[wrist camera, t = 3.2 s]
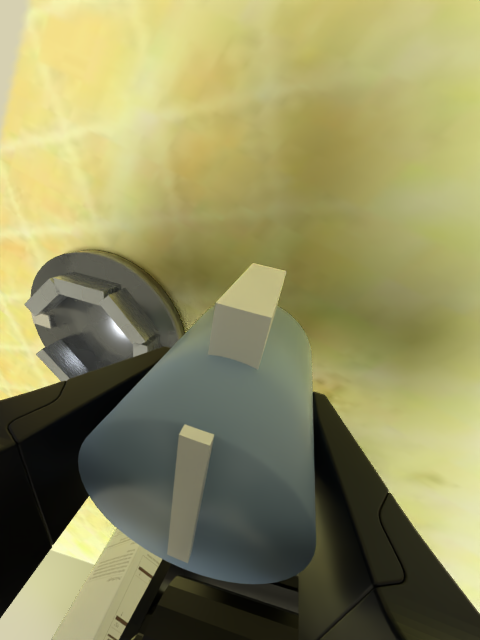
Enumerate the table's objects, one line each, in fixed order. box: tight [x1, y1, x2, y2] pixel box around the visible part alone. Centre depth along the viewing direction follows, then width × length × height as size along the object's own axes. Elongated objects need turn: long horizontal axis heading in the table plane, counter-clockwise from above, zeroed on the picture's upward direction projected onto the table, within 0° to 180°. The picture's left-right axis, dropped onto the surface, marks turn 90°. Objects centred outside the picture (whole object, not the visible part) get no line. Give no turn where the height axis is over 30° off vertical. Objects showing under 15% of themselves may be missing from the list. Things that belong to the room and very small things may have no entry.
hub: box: [24, 250, 185, 382], centre depth 16 cm, size 11×11×2 cm
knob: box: [78, 263, 316, 584], centre depth 7 cm, size 6×5×6 cm
